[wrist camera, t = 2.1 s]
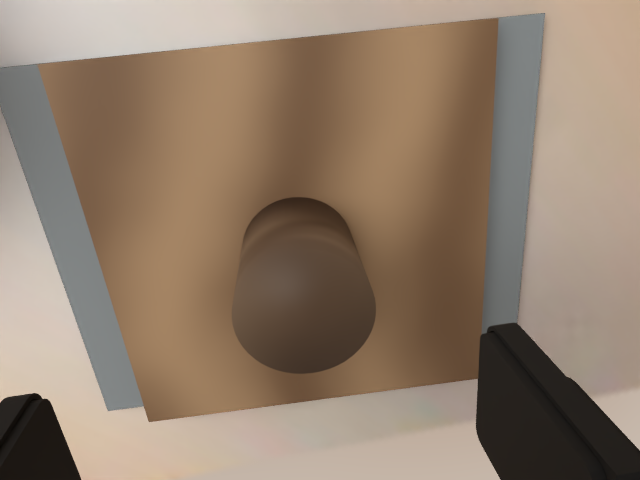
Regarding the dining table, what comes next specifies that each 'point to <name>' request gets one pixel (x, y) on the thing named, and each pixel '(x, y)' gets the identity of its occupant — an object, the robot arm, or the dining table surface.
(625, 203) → the dining table surface
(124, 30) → the dining table surface
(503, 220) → the mat
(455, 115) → the lid
